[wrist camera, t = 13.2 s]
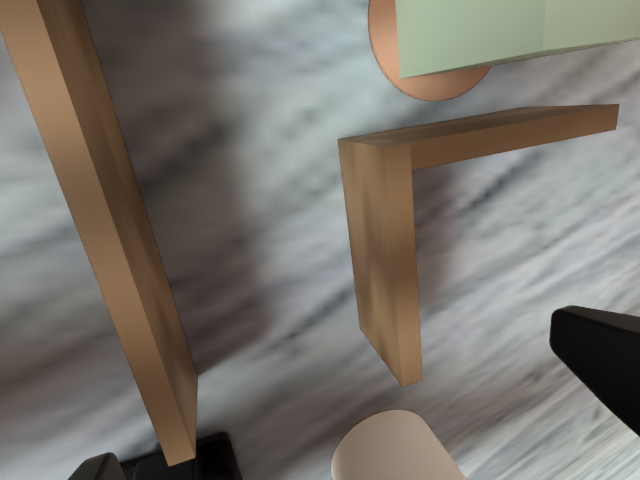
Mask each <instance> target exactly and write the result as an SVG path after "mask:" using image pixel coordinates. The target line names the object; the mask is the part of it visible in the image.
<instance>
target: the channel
mask: <svg viewBox="0 0 640 480" xmlns="http://www.w3.org/2000/svg"><path fill="white" fill-rule="evenodd" d="M368 29H369V37H370V42H371V46H372V50H373V52H374V55H375V58H376V60H377V62H378V64H379V66H380V68H381V70H382V71H383V73H384V74H385V76H386V77H387V78H388V79H389V81H390V82H391V83H392V84H393V85H394V86H395V87H397V88H398V89H399V90H400V91H402V92H403V93H405V94H407V95H408V96H411V97H413V98H416V99H420V100H424V101H441V100H447V99H451V98H454V97H457V96H459V95H461V94H463V93H465V92H466V91H468V90H469V89H471V88H472V87H473V86H475V85H476V84H477V83H478V82H479V81H480V80H481V79H482V78H483V77H484V75H485V74H486V73H487V72H488V70H489V69H490V67H491V66H487V67H481V68H474V69H467V70H460V71H453V72H445V73H438V74H431V75H424V76H417V77H410V78H402V79H400V72H399V55H398V38H397V20H396V3H395V0H369V8H368ZM0 30H1V33H2V36H3V38H4V41H5V43H6V46H7V49H8V51H9V54H10V56H11V59H12V62H13V64H14V67H15V69H16V72H17V75H18V77H19V80H20V82H21V85H22V87H23V90H24V93H25V95H26V98H27V100H28V103H29V106H30V108H31V111H32V113H33V116H34V119H35V121H36V124H37V126H38V129H39V132H40V134H41V137H42V139H43V142H44V144H45V147H46V150H47V152H48V155H49V157H50V160H51V163H52V165H53V168H54V170H55V173H56V176H57V178H58V181H59V183H60V186H61V189H62V191H63V194H64V196H65V199H66V201H67V204H68V207H69V209H70V212H71V214H72V217H73V220H74V222H75V225H76V227H77V230H78V233H79V235H80V238H81V240H82V243H83V246H84V248H85V251H86V253H87V256H88V258H89V261H90V264H91V266H92V269H93V271H94V274H95V277H96V279H97V282H98V284H99V287H100V290H101V292H102V295H103V297H104V300H105V303H106V305H107V308H108V310H109V313H110V315H111V318H112V321H113V323H114V326H115V328H116V331H117V334H118V336H119V339H120V341H121V344H122V347H123V349H124V352H125V354H126V357H127V360H128V362H129V365H130V367H131V370H132V372H133V375H134V378H135V380H136V383H137V385H138V388H139V391H140V393H141V396H142V398H143V401H144V404H145V406H146V409H147V411H148V414H149V417H150V419H151V422H152V424H153V427H154V429H155V432H156V435H157V437H158V440H159V442H160V445H161V448H162V450H163V453H164V455H165V458H166V461H167V463H168V466H172V465H175V464H178V463H181V462H184V461H187V460H190V459H193V458H195V453H196V419H197V386H198V376H197V373H196V370H195V366H194V363H193V360H192V357H191V354H190V350H189V347H188V344H187V341H186V338H185V334H184V331H183V328H182V325H181V322H180V318H179V315H178V312H177V309H176V306H175V302H174V299H173V296H172V293H171V290H170V286H169V283H168V280H167V277H166V274H165V270H164V267H163V264H162V261H161V258H160V254H159V251H158V248H157V245H156V242H155V238H154V235H153V232H152V229H151V226H150V222H149V219H148V216H147V213H146V210H145V206H144V203H143V200H142V197H141V194H140V190H139V187H138V184H137V181H136V178H135V174H134V171H133V168H132V165H131V162H130V158H129V155H128V152H127V149H126V146H125V142H124V139H123V136H122V133H121V130H120V126H119V123H118V120H117V117H116V114H115V110H114V107H113V104H112V101H111V98H110V94H109V91H108V88H107V85H106V82H105V78H104V75H103V72H102V69H101V66H100V62H99V59H98V56H97V53H96V50H95V46H94V43H93V40H92V37H91V34H90V30H89V27H88V24H87V21H86V18H85V14H84V11H83V8H82V5H81V2H80V0H0ZM618 109H619V104H609V105H577V106H545V107H522V108H516V109H511V110H505V111H499V112H493V113H488V114H482V115H476V116H470V117H465V118H459V119H453V120H447V121H442V122H436V123H430V124H424V125H419V126H413V127H407V128H401V129H396V130H390V131H384V132H378V133H373V134H367V135H361V136H355V137H350V138H344V139H338V146H339V154H340V163H341V171H342V179H343V188H344V196H345V205H346V213H347V222H348V230H349V239H350V247H351V256H352V264H353V272H354V281H355V289H356V298H357V306H358V315H359V323H360V329H361V331H362V332H363V333H364V335H365V336H366V338H367V339H368V340H369V342H370V343H371V344H372V346H373V347H374V349H375V350H376V351H377V353H378V354H379V355H380V357H381V358H382V359H383V361H384V362H385V364H386V365H387V366H388V368H389V369H390V370H391V372H392V373H393V375H394V376H395V377H396V379H397V380H398V381H399V383H400V384H401V386H402V387H404V386H407V385H410V384H413V383H416V382H419V381H422V380H423V377H422V358H421V339H420V320H419V301H418V283H417V264H416V245H415V226H414V207H413V188H412V171H413V170H418V169H423V168H428V167H433V166H438V165H443V164H448V163H453V162H457V161H462V160H467V159H472V158H477V157H482V156H487V155H492V154H497V153H502V152H507V151H512V150H517V149H522V148H527V147H532V146H536V145H541V144H546V143H551V142H556V141H561V140H566V139H571V138H576V137H581V136H586V135H591V134H596V133H601V132H606V131H611V130H615V129H616V124H617V117H618Z"/></svg>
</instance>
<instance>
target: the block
mask: <svg viewBox="0 0 640 480" xmlns="http://www.w3.org/2000/svg"><path fill="white" fill-rule="evenodd" d="M395 3H396V20H397V38H398V55H399V72H400V79H402V78H410V77H417V76H424V75H431V74H438V73H445V72H453V71H460V70H467V69H474V68H481V67H487V66H493V65H498V64H504V63H509V62H515V61H521V60H526V59H532V58H537V57H543V56H548V55H554V54H559V53H565V52H570V51H576V50H582V49H587V48H593V47H598V46H604V45H609V44H615V43H620V42H626V41H632V40H637V39H640V0H395Z"/></svg>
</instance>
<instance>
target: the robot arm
mask: <svg viewBox="0 0 640 480" xmlns="http://www.w3.org/2000/svg"><path fill="white" fill-rule="evenodd" d="M549 343H550V346H551V349H552V350H553V352H554V353H555V354H556V355H557V357H558V358H559V359H560V360H561V361H562V362H563V363H564V364H565V365H566V366H567V367H568V368H569V369H570V370H571V371H572V372H573V373H574V374H575V375H576V376H577V377H578V378H579V379H580V380H581V381H582V382H583V383H584V384H585V385H586V386H587V387H588V388H589V390H590V391H591V392H592V393H593V394H594V395H595V396H596V397H597V398H598V399H599V400H600V401H601V402H602V403H603V404H604V405H605V406H606V407H607V408H608V409H609V410H610V411H611V412H612V413H613V414H615V415H616V416H617V417H618V418H619V419H620V420H621V421H622V422H623V423H624V424H626V425H627V426H628V427H629V428H630V429H631V430H632V431H633V432H635V433H636V434H637V435H638V436H639V437H640V317H637V316H632V315H626V314H620V313H614V312H608V311H603V310H597V309H591V308H585V307H580V306H573V305H572V306H566V307H563V308H560V309H557V310H555V311H554V312H553V314H552V316H551V327H550V339H549ZM220 442H224V443H222V444H220ZM68 480H243V476H242V473H241V470H240V466H239V463H238V459H237V456H236V453H235V449H234V446H233V442H232V439H231V436H230V435H229V434H228V433H224V432H223V433H218V434H215V435H212V436H209V437H206V438H203V439H200V440H197V441H196V453H195V458H193V459H190V460H187V461H184V462H181V463H178V464H175V465H172V466H168V463H167V461H166V458H165V455H164V453H163V452H161V453H158V454H155V455H152V456H149V457H146V458H143V459H140V460H137V461H134V462H131V463H128V464H125V465H122V466H120V464H119V461H118V459H117V457H116V455H115V454H114V453H111V452H108V453H105V454H102V455H99V456H95V457H92V458H89V459H87V460H85V461H84V462H83V463H82V464H81V465H80V466H79V467H78V468H77V469H76V471H75V472H74V473H73V474H72V475H71V476H70V477H69V479H68Z"/></svg>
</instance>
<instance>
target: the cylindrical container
mask: <svg viewBox="0 0 640 480" xmlns="http://www.w3.org/2000/svg"><path fill="white" fill-rule="evenodd" d="M331 473H332V478H333V480H467V479H466V478H465V476H464V475H463V474H462V472H461V471H460V469H459V468H458V467H457V465H456V464H455V463H454V461H453V460H452V458H451V457H450V456H449V454H448V453H447V451H446V450H445V449H444V447H443V446H442V445H441V443H440V442H439V440H438V439H437V438H436V436H435V435H434V434H433V432H432V431H431V429H430V428H429V427H428V425H427V424H426V422H425V421H424V420H423V419H422V418H421V417H420V416H418V415H417V414H415V413H413V412H410V411H406V410H389V411H384V412H380V413H378V414H375V415H372V416H370V417H368V418H366V419H365V420H363V421H361V422H360V423H359V424H357V425H356V426H355V427H353V428H352V429H351V430H350V431H349V432H348V433H347V434H346V435H345V436H344V437H343V439H342V440H341V442H340V443H339V444H338V446H337V448H336V450H335V452H334V455H333V458H332V462H331Z"/></svg>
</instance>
